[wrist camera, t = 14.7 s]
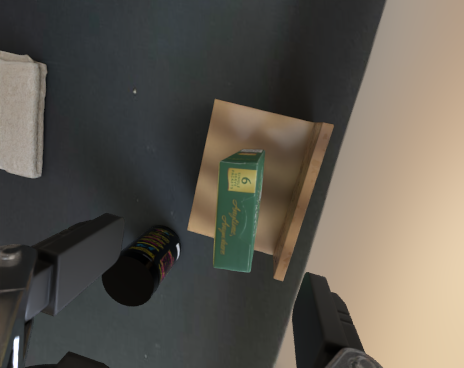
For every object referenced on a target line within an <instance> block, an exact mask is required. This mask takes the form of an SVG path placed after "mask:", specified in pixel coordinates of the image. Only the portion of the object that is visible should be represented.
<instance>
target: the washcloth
mask: <svg viewBox="0 0 464 368" xmlns="http://www.w3.org/2000/svg"><path fill="white" fill-rule="evenodd" d="M47 73H48V72H47V66H46V64H43V63H39V62H36V61H33V60H32V59H31V58H30V57H29V56H28V55H27V54H26V55H17V54H12V53H8V52H4V51H0V169H4V170H6V171H7V172H9V173H13V174H16V175H17V174H18V175H20V176H26V177H30V178H38V177H40V176H41V173H42V171H41V170H42V163H43V161H42V156H43V130H44V129H43V128H44V127H43V120H44V116H43V114H44V108H45V106H44V104H45V101H44V98H45V96H46V94H45V93H46V82H45V78H46V74H47Z"/></svg>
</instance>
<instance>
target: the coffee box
mask: <svg viewBox="0 0 464 368" xmlns="http://www.w3.org/2000/svg"><path fill="white" fill-rule="evenodd" d="M264 161H265V150H258V149H242V150H240V151H238V152H237V153H235V154H233V155H231V156H229V157H227V158H225V159H223V160H221V161H220V162H219V171H218V187H217V203H216V219H215V235H214V256H213V267H215V268H221V269H227V270H234V271H242V272H250V270H251V263H252V257H253V250H254V243H255V237H256V231H257V225H258V218H259V211H260V203H261V193H262V183H263V172H264Z"/></svg>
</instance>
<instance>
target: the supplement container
mask: <svg viewBox="0 0 464 368" xmlns="http://www.w3.org/2000/svg"><path fill="white" fill-rule="evenodd" d="M180 254H181V243H180V240H179V238H178V236H177V235H176V234H175V233H174V232H173V231H172V230H171V229H169V228H166V227H163V226H155V227H151V228H149V229H148V230H146V231H145V232H144V233H143V234H142V235H140V236H139V237H138V238H137V239H135V240H134V241H133V242H132V243H131V244H129V245H128V246H127V247H126V248H125V249H123V250H122V251H121V253H120V255H119V258H118V259H117V261H116V262H115V263H114V264H113V265H112V266H111V267H110V268H109V269H108V270H107V271H105V272H104V273H103V274H102V282H103V285H104V288H105V290H106V291H107V293H108V294H109V295H110V296H111V297H112V298H113V299H114V300H115V301H117V302H118V303H120V304H123V305H126V306H139V305H142V304H144V303H146V302H147V301H148V300H149V299H150V298H151V296H152V295H153V293H154V292H155V291H156V290H157V288H158V286H159V285H160V283H161V282H162V280H163V279H164V278H165V276H166V275H167V273H168V272H169V271H170V269H171V268H172V266H173V265H174V264H175V262H176V261H177V259H178V258H179V256H180Z"/></svg>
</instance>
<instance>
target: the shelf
mask: <svg viewBox="0 0 464 368" xmlns="http://www.w3.org/2000/svg"><path fill="white" fill-rule="evenodd" d="M333 127H334V125H332V124H328V123H312V122H308V121H304V120H300V119H296V118H292V117H288V116H283V115H279V114H275V113H271V112H267V111H263V110H259V109H254V108H250V107H246V106H242V105H238V104H234V103H230V102H226V101H221V100H217V99H215V102H214V106H213V111H212V116H211V120H210V125H209V130H208V135H207V139H206V144H205V149H204V153H203V158H202V163H201V168H200V172H199V177H198V182H197V186H196V191H195V196H194V201H193V205H192V210H191V215H190V219H189V224H188V229H187V230H189V231H193V232H196V233H200V234H203V235H206V236H210V237H213V238H214V235H215V219H216V203H217V187H218V171H219V162H220V161H221V160H223V159H225V158H227V157H229V156H231V155H233V154H235V153H237V152H238V151H240V150H242V149H258V150H265V161H264V172H263V183H262V193H261V203H260V211H259V218H258V225H257V231H256V237H255V243H254V250H258V251H261V252H265V253H268V254H271V255H273V263H274V279H278V280H281V281H283V279H284V276H285V273H286V270H287V267H288V264H289V261H290V258H291V255H292V252H293V249H294V246H295V243H296V240H297V237H298V234H299V231H300V228H301V224H302V221H303V218H304V215H305V212H306V209H307V206H308V203H309V200H310V197H311V194H312V191H313V188H314V185H315V182H316V179H317V176H318V173H319V169H320V166H321V163H322V160H323V157H324V154H325V151H326V148H327V145H328V142H329V139H330V136H331V133H332V130H333Z"/></svg>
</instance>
